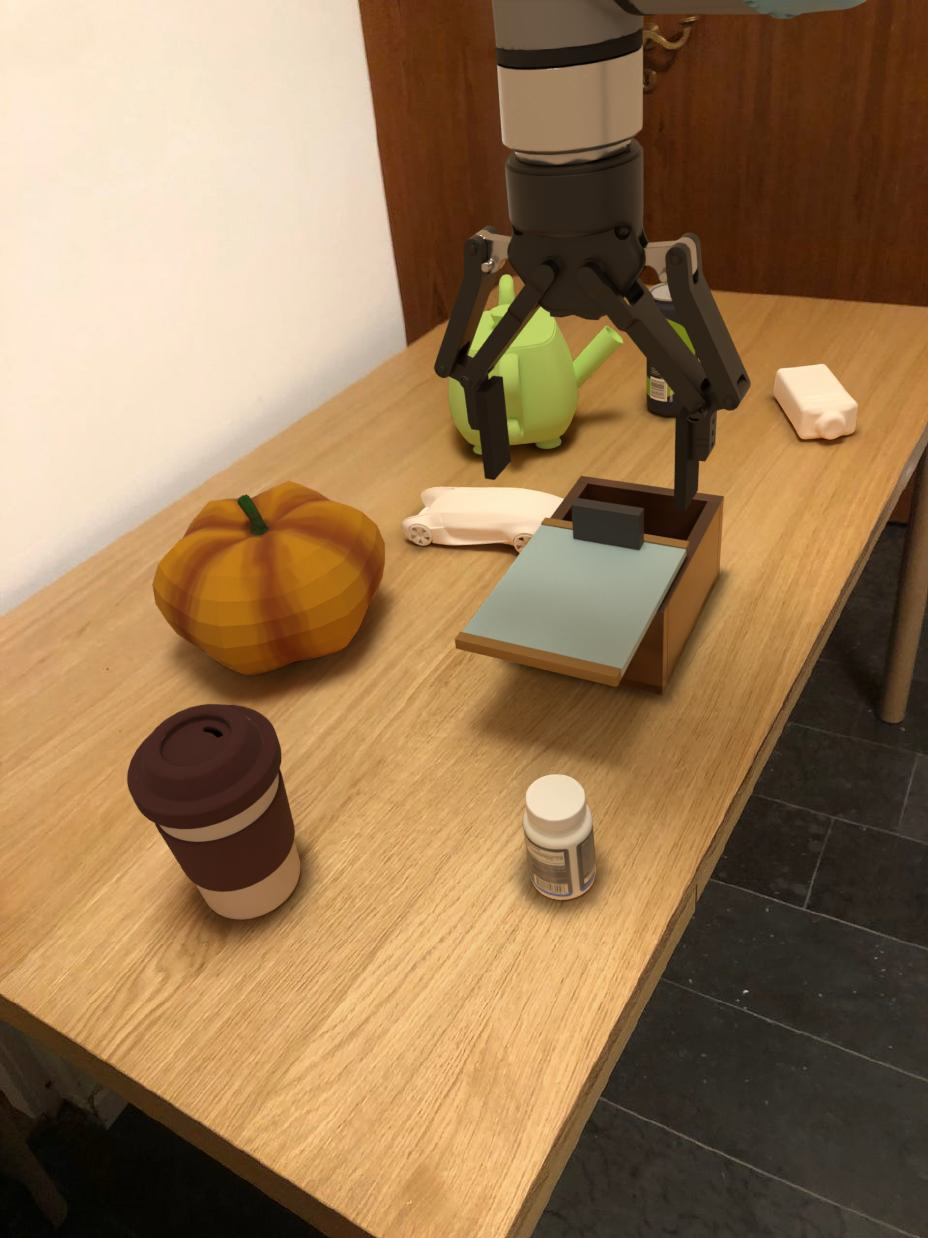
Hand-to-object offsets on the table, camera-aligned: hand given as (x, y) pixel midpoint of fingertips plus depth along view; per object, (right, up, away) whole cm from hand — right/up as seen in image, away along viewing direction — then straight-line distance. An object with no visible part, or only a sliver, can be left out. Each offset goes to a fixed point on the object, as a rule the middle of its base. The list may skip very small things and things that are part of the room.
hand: (587, 484), depth 65 cm
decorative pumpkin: (-26, -10, +30) cm, 41 cm away
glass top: (+1, -7, +13) cm, 15 cm away
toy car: (-5, 0, +39) cm, 40 cm away
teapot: (+1, +16, +58) cm, 60 cm away
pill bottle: (-1, -27, +4) cm, 28 cm away
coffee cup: (-24, -29, +6) cm, 38 cm away
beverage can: (+18, +18, +57) cm, 62 cm away
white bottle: (+33, +15, +50) cm, 62 cm away
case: (+6, -9, +25) cm, 28 cm away
